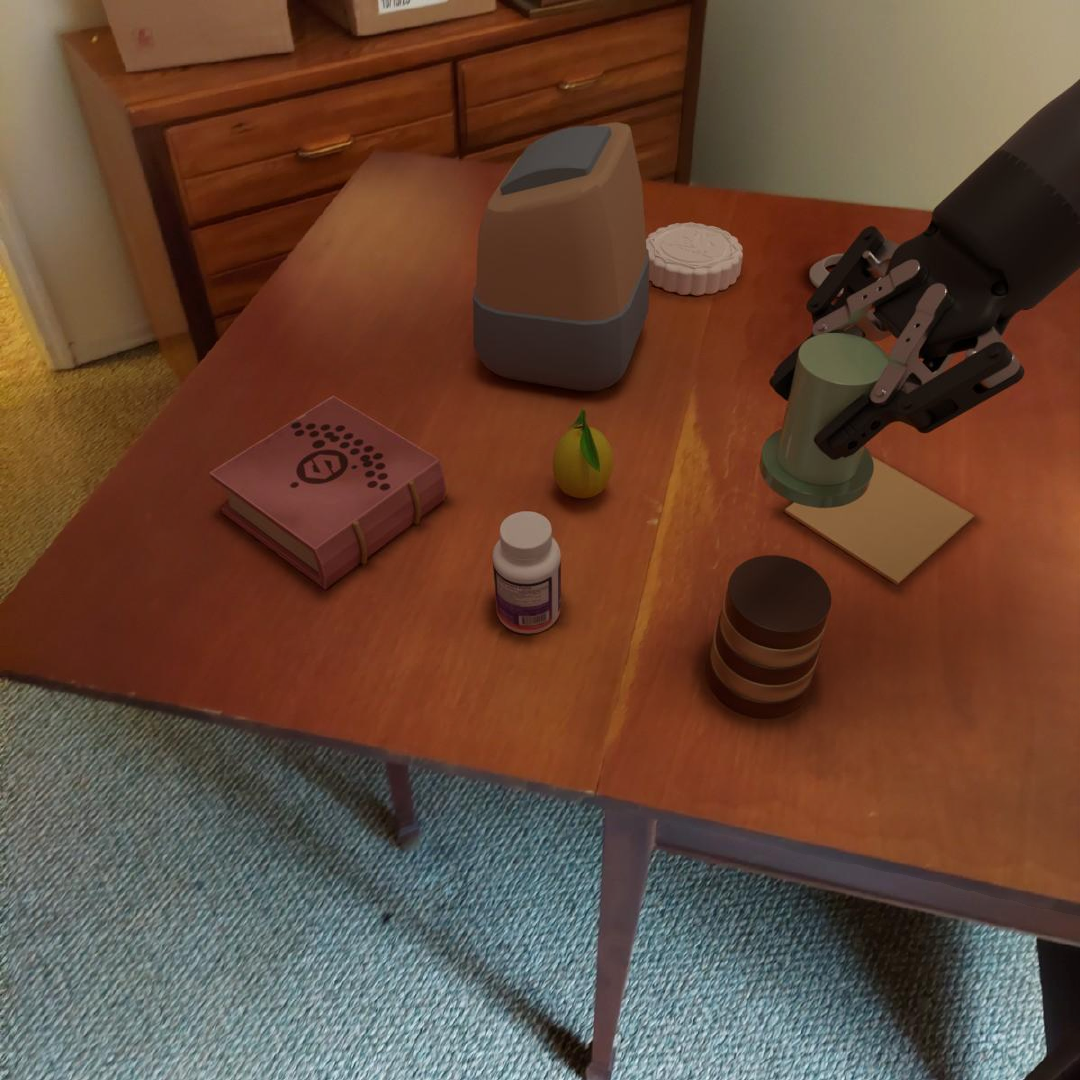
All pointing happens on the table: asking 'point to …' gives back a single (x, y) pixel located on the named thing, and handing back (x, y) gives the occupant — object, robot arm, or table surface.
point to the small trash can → (564, 262)
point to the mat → (887, 523)
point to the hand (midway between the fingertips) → (801, 420)
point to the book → (330, 489)
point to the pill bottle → (527, 573)
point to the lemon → (582, 460)
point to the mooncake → (693, 258)
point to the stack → (768, 636)
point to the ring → (824, 270)
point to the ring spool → (822, 422)
